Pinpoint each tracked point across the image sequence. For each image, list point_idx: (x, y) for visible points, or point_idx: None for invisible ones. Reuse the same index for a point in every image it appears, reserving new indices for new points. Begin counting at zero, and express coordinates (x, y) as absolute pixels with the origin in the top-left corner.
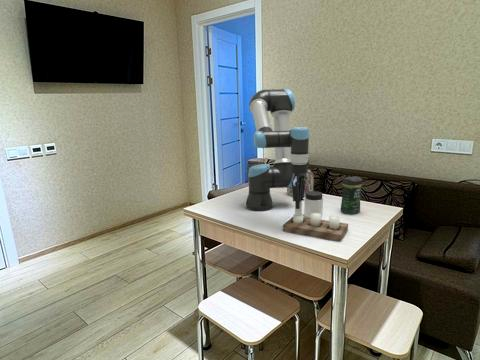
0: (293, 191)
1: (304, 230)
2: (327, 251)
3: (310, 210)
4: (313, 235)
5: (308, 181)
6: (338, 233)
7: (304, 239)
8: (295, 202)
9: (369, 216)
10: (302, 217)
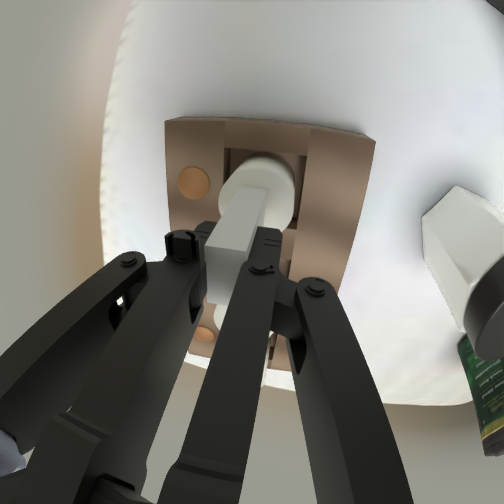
0: (31, 343)
1: None
2: (118, 303)
3: (440, 245)
4: None
5: None
6: (196, 349)
7: (148, 234)
8: (209, 241)
9: (434, 379)
10: None
